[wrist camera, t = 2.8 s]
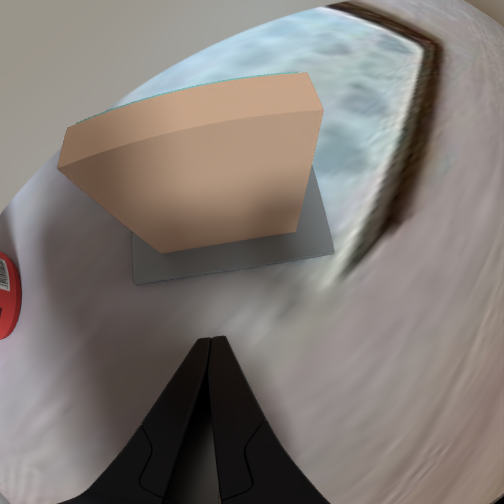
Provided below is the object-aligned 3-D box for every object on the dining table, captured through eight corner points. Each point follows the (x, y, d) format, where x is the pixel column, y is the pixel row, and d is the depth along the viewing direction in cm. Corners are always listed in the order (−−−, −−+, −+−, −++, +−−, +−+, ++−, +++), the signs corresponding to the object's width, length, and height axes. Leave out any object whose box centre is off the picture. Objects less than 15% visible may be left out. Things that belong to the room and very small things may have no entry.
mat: (332, 254, 17) (334, 251, 16) (136, 284, 17) (133, 283, 16) (285, 87, 20) (285, 83, 20) (141, 115, 21) (139, 111, 20)
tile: (295, 231, 16) (323, 110, 7) (161, 253, 17) (57, 168, 7) (289, 200, 17) (304, 66, 7) (159, 222, 17) (68, 121, 8)
